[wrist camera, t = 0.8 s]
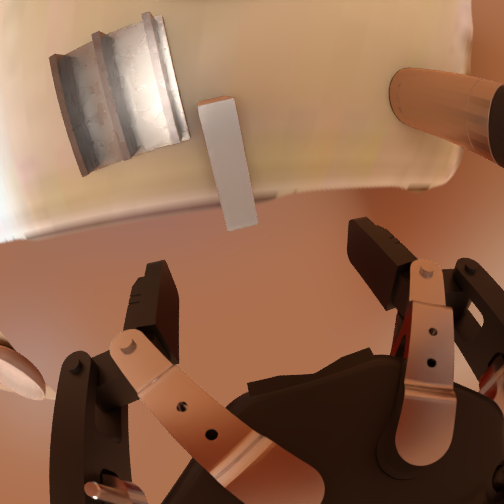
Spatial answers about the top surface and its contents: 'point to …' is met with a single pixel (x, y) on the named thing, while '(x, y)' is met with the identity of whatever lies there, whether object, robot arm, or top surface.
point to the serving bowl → (20, 375)
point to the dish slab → (228, 161)
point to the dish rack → (120, 95)
